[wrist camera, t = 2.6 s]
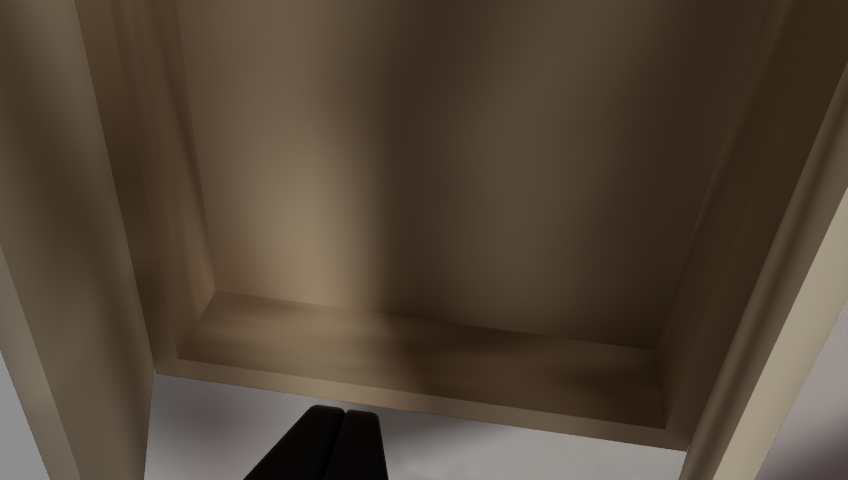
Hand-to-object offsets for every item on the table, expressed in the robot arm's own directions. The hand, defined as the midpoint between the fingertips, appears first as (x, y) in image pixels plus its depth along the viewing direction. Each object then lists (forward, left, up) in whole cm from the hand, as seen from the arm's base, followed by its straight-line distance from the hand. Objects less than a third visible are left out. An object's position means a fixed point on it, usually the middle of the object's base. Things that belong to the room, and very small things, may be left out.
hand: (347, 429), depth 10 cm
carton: (0, 0, -13) cm, 13 cm away
